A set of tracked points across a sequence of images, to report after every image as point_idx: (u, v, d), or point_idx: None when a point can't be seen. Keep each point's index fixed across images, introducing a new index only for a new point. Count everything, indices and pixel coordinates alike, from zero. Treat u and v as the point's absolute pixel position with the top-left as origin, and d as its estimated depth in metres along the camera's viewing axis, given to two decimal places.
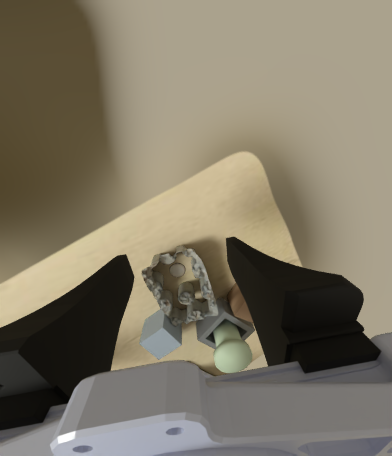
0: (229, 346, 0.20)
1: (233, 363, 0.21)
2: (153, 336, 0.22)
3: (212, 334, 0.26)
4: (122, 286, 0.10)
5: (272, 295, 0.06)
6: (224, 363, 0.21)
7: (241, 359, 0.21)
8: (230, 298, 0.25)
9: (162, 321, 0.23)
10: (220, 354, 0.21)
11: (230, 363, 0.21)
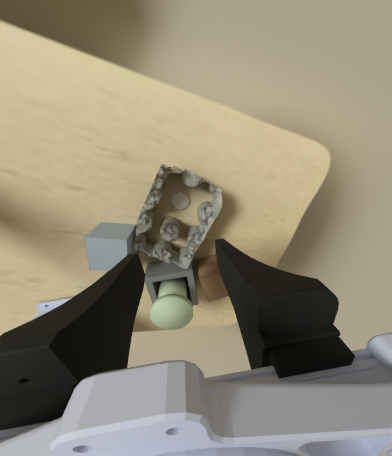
0: (180, 301, 0.18)
1: (167, 318, 0.19)
2: (107, 241, 0.17)
3: (156, 283, 0.23)
4: (135, 284, 0.10)
5: (250, 299, 0.06)
6: (160, 313, 0.18)
7: (177, 319, 0.19)
8: (200, 264, 0.23)
9: (127, 235, 0.18)
10: (165, 303, 0.18)
11: (165, 317, 0.19)
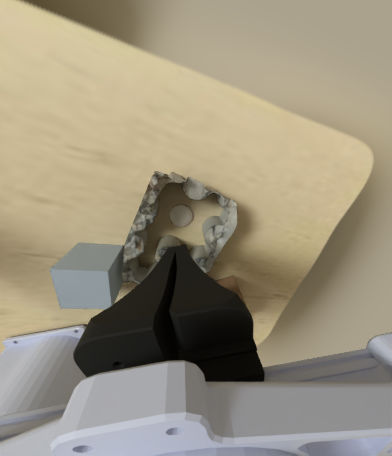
0: None
1: None
2: (81, 273, 0.13)
3: None
4: None
5: None
6: None
7: None
8: None
9: (110, 262, 0.14)
10: None
11: None
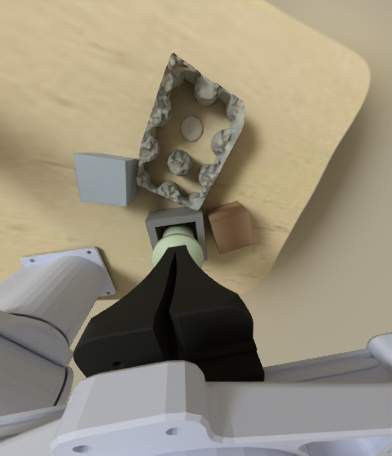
0: (189, 240, 0.15)
1: None
2: (101, 161, 0.14)
3: (159, 234, 0.20)
4: None
5: None
6: None
7: None
8: (211, 212, 0.20)
9: (126, 159, 0.15)
10: (170, 242, 0.15)
11: None
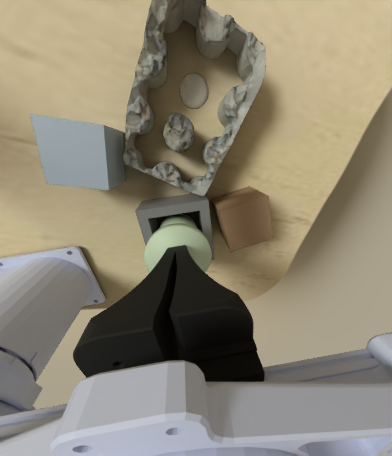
0: (192, 232, 0.11)
1: None
2: (70, 125, 0.10)
3: (154, 229, 0.16)
4: None
5: None
6: (160, 254, 0.12)
7: None
8: (218, 200, 0.16)
9: (106, 126, 0.11)
10: (168, 235, 0.11)
11: None
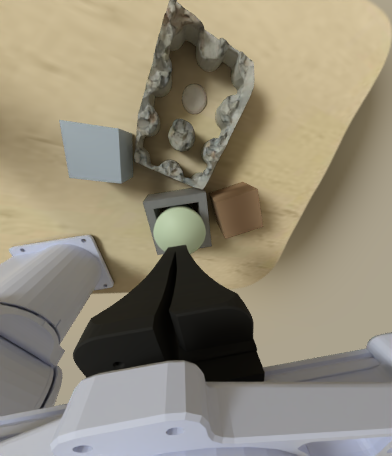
0: (190, 212, 0.15)
1: (175, 239, 0.16)
2: (91, 129, 0.12)
3: None
4: None
5: None
6: (166, 230, 0.15)
7: (187, 241, 0.16)
8: (215, 193, 0.18)
9: (120, 130, 0.13)
10: (172, 214, 0.15)
11: (172, 236, 0.15)
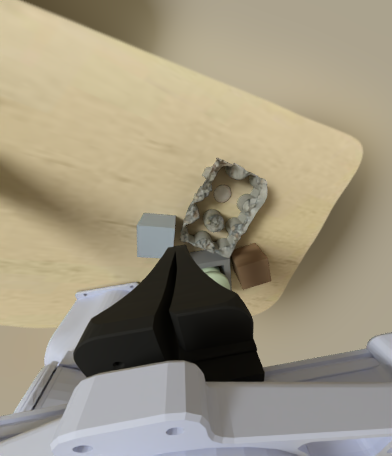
0: (220, 277, 0.20)
1: None
2: (157, 229, 0.18)
3: None
4: None
5: None
6: None
7: None
8: (234, 254, 0.24)
9: (173, 224, 0.19)
10: None
11: None
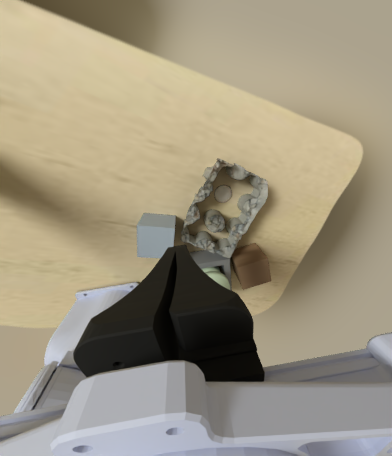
0: (220, 277, 0.20)
1: None
2: (157, 229, 0.18)
3: None
4: None
5: None
6: None
7: None
8: (234, 254, 0.24)
9: (173, 224, 0.19)
10: None
11: None
